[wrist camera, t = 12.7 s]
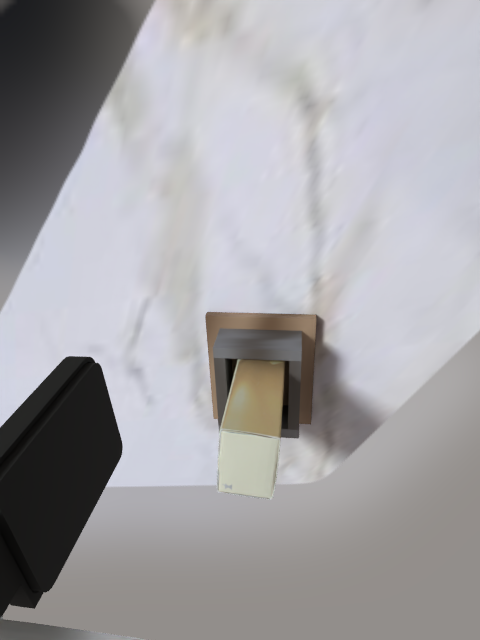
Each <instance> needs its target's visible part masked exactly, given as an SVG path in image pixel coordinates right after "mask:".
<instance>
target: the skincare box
mask: <svg viewBox="0 0 480 640" xmlns="http://www.w3.org/2000/svg"><path fill="white" fill-rule="evenodd" d="M284 373H285V361H283V360H256V359H238V360H237V364H236V368H235V372H234V376H233V380H232V384H231V388H230V392H229V396H228V400H227V403H226V407H225V411H224V415H223V419H222V423H221V427H220V431H219V448H218V471H217V492H221V493H228V494H234V495H241V496H247V497H254V498H263V499H272V498H273V494H274V489H275V484H276V478H277V470H278V461H279V451H280V438H281V422H282V406H283V389H284Z"/></svg>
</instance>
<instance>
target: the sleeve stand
mask: <svg viewBox="0 0 480 640" xmlns="http://www.w3.org/2000/svg"><path fill="white" fill-rule="evenodd" d="M206 329H207V341H208V353H209V366H210V378H211V390H212V403H213V415H214V419H218V424H219V431H220V427H221V423H222V419H223V415H224V411H225V407H226V403H227V400H228V396H229V392H230V388H231V384H232V380H233V376H234V372H235V368H236V364H237V360H238V359H256V360H283V361H285V373H284V389H283V406H282V422H281V437H285V438H299V424H311V411H312V392H313V373H314V354H315V335H316V315H304V314H263V313H222V312H207V314H206Z"/></svg>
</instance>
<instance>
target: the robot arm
mask: <svg viewBox="0 0 480 640" xmlns="http://www.w3.org/2000/svg"><path fill="white" fill-rule="evenodd" d="M121 455H122V441H121V437H120V434H119V430H118V426H117V423H116V419H115V415H114V412H113V408H112V404H111V401H110V397H109V393H108V390H107V386H106V382H105V379H104V375H103V372H102V368H101V366H100V365H99V364H98V363H95V361H94V360H93V358H91V357H73V356H69V357H66V358H65V359H64V360H63V361H62V362H61V363H60V364H59V365H58V366H57V367H56V368H55V369H54V370H53V371H52V372H51V374H50V375H49V376H48V377H47V378H46V379H45V380H44V381H43V382H42V383H41V384H40V385H39V386H38V388H37V389H36V390H35V391H34V392H33V393H32V394H31V395H30V396H29V397H28V398H27V399H26V400H25V402H24V403H23V404H22V405H21V406H20V407H19V408H18V409H17V410H16V411H15V412H14V413H13V414H12V416H11V417H10V418H9V419H8V420H7V421H6V422H5V423H4V424H3V425H2V426H1V427H0V640H147V639H140V638H133V637H126V636H119V635H112V634H105V633H98V632H91V631H84V630H78V629H71V628H64V627H56V626H49V625H43V624H36V623H28V622H20V621H11V620H3V616H2V615H3V613H4V612H5V610H6V609H7V607H8V605H9V604H11V605H13V606H20V607H27V608H35V607H36V605H37V603H38V601H39V600H40V598H41V596H42V594H43V592H47V591H49V590H50V589H51V588H52V586H53V585H54V583H55V581H56V579H57V578H58V576H59V574H60V572H61V570H62V568H63V566H64V564H65V562H66V560H67V559H68V557H69V555H70V553H71V551H72V549H73V547H74V545H75V543H76V541H77V540H78V538H79V536H80V534H81V532H82V530H83V528H84V526H85V524H86V522H87V521H88V518H89V517H90V515H91V513H92V511H93V509H94V507H95V505H96V504H97V502H98V500H99V498H100V496H101V494H102V492H103V490H104V488H105V486H106V485H107V483H108V481H109V479H110V477H111V475H112V473H113V471H114V469H115V467H116V466H117V464H118V462H119V460H120V458H121Z"/></svg>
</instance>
